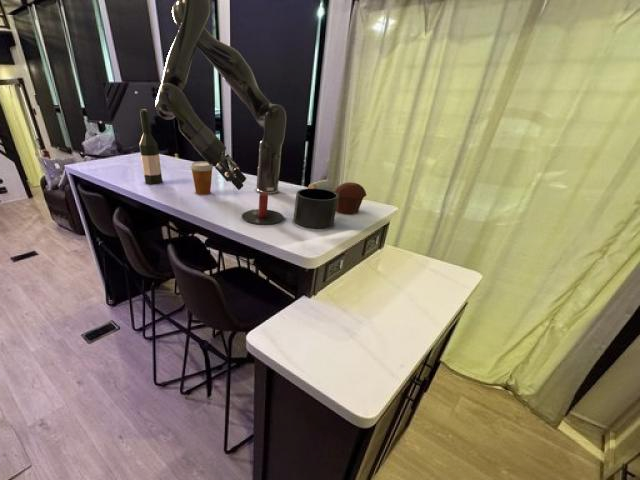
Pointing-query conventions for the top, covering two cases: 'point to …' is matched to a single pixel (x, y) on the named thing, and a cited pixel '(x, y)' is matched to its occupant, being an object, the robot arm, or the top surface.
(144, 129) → the wine bottle
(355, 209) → the muffin
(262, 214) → the lid
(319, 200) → the pot
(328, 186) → the ceramic mug
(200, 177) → the disposable coffee cup
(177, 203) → the top surface
